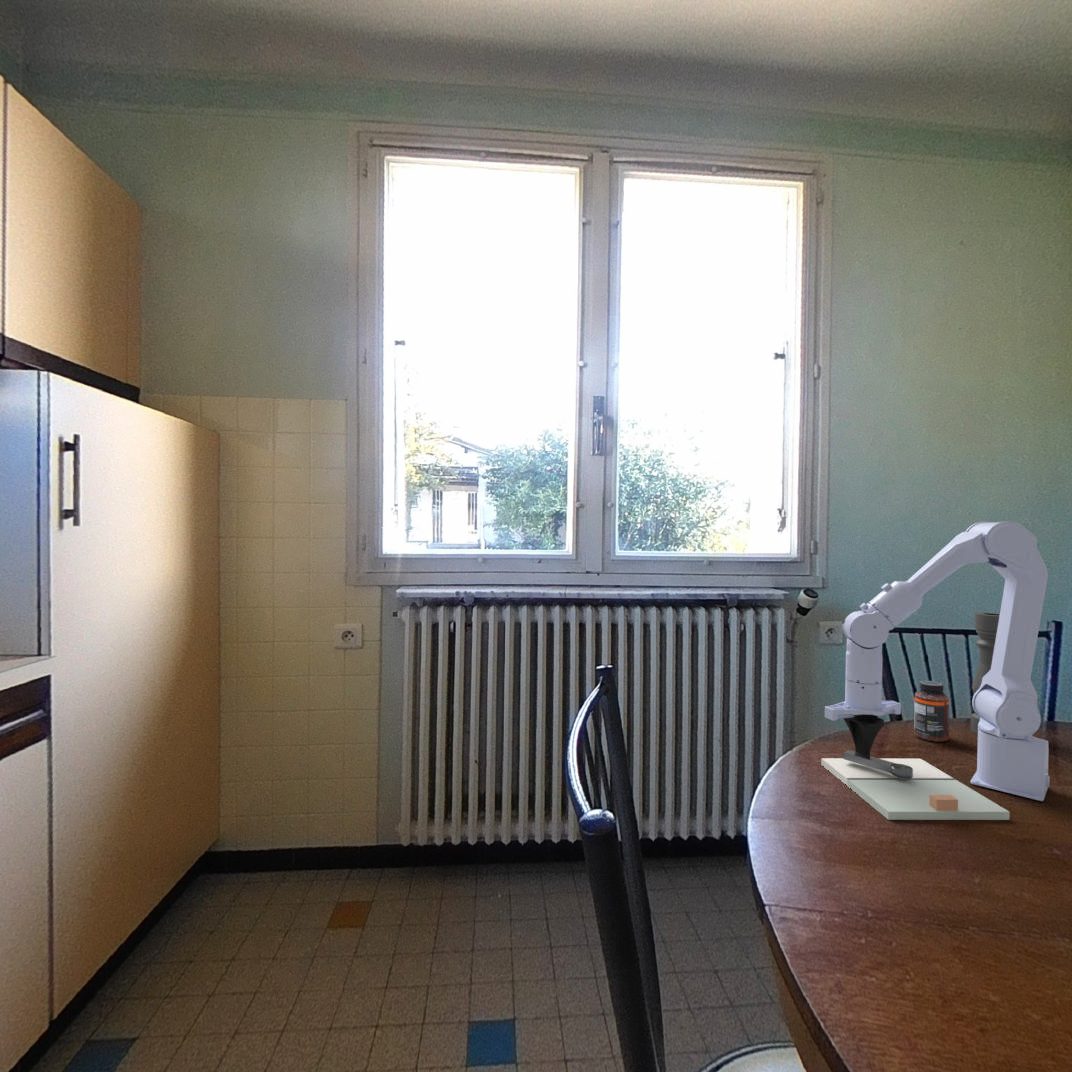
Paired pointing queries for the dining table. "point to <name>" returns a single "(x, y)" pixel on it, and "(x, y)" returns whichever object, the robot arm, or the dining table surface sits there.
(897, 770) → the bar
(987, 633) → the candle holder
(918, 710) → the supplement bottle
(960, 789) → the plate
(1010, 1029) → the dining table surface
